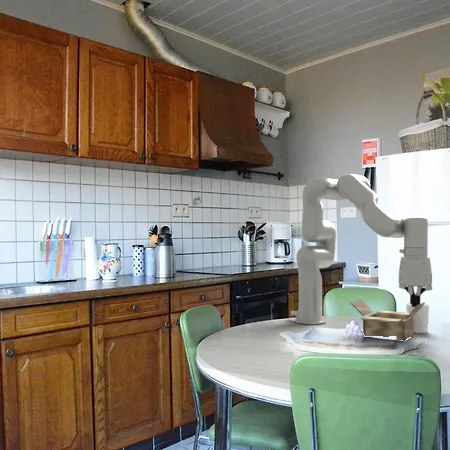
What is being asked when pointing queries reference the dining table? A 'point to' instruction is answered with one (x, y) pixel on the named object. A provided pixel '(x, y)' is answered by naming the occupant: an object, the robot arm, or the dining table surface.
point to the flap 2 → (415, 310)
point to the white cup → (419, 318)
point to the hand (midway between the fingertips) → (415, 306)
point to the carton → (388, 325)
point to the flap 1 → (361, 307)
